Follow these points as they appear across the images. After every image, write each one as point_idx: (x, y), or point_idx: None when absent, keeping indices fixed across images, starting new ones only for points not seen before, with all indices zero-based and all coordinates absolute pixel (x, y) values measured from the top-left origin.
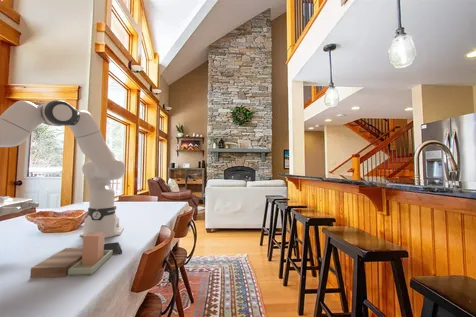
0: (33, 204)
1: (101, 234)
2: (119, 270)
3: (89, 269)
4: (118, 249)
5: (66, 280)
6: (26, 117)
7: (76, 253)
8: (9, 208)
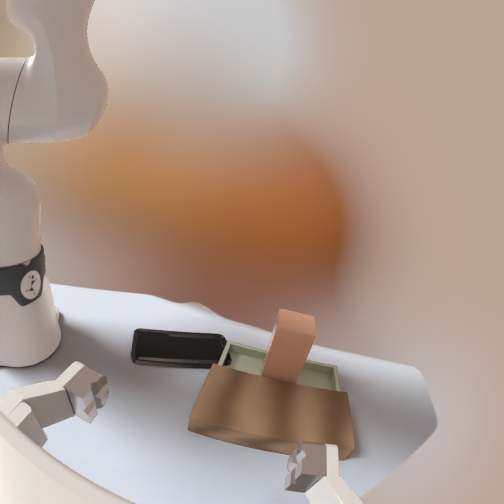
0: (91, 395)
1: (298, 313)
2: (314, 346)
3: (336, 369)
4: (198, 337)
5: (353, 400)
6: None
7: (258, 391)
8: (348, 489)
